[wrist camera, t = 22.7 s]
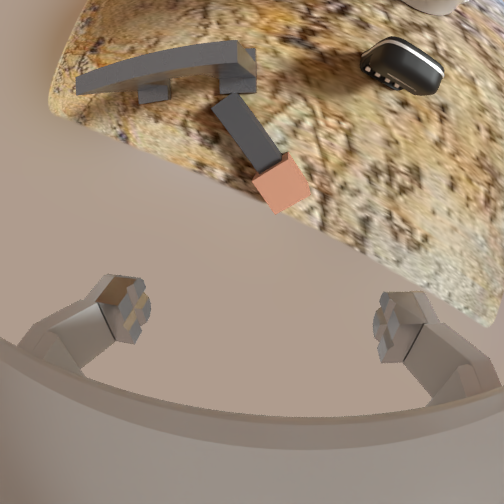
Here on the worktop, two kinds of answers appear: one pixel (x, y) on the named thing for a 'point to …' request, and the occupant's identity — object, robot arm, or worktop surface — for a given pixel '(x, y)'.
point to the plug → (263, 155)
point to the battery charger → (402, 66)
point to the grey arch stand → (175, 71)
